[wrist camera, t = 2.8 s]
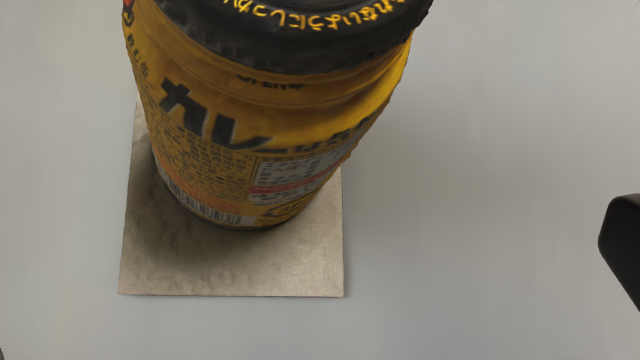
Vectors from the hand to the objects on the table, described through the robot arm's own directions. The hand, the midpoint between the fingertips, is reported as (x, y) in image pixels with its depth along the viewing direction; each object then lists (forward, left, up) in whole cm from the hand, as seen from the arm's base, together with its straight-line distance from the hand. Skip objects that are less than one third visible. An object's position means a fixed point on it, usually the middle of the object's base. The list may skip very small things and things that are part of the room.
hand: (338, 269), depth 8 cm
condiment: (+4, -2, -11) cm, 12 cm away
